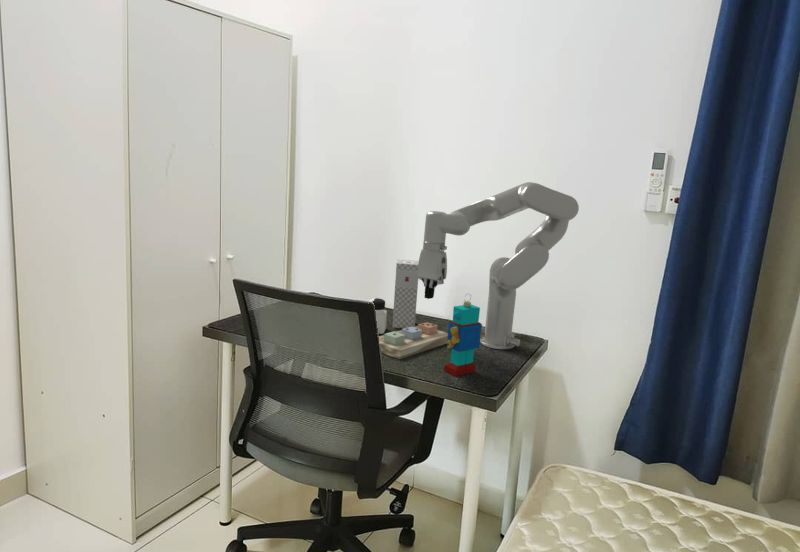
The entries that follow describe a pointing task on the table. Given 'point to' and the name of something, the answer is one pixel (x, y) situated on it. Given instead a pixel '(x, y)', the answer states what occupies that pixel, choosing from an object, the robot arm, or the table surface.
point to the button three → (428, 328)
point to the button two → (412, 333)
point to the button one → (394, 338)
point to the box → (405, 294)
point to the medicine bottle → (380, 314)
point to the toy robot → (463, 338)
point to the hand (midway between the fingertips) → (428, 297)
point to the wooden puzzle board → (413, 344)
